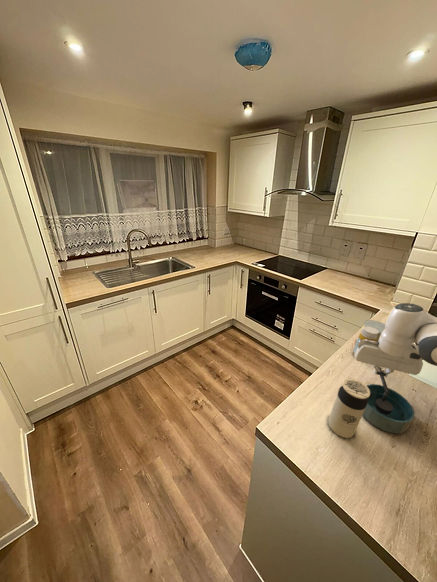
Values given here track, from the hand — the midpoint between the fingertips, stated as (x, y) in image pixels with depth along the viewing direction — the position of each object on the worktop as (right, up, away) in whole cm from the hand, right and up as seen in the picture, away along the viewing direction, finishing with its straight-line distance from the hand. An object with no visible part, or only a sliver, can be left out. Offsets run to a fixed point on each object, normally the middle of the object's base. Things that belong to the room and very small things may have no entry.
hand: (380, 374), depth 89 cm
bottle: (+6, +1, +22) cm, 23 cm away
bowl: (-4, -12, -6) cm, 14 cm away
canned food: (+14, +4, +28) cm, 32 cm away
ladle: (-2, -7, -2) cm, 8 cm away
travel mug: (-21, -14, -11) cm, 27 cm away
